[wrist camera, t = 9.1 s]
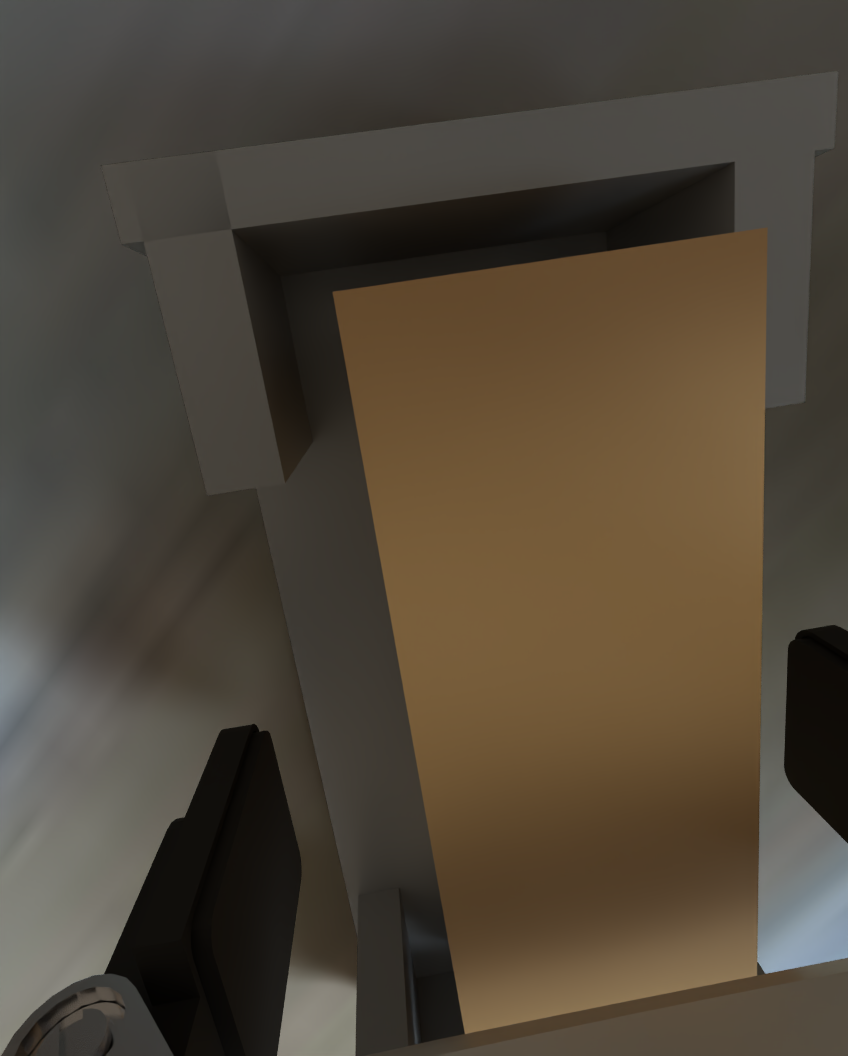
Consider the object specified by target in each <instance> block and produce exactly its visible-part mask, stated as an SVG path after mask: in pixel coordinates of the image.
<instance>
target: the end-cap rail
mask: <svg viewBox="0 0 848 1056" xmlns="http://www.w3.org/2000/svg"><path fill="white" fill-rule="evenodd" d="M837 89H838V71H832V72H824V73H816V74H808V75H801V76H793V77H785V78H777V79H769V80H762V81H754V82H746V83H738V84H730V85H723V86H715V87H707V88H699V89H691V90H684V91H676V92H668V93H660V94H652V95H645V96H637V97H629V98H621V99H614V100H606V101H598V102H590V103H582V104H575V105H567V106H559V107H551V108H543V109H536V110H528V111H520V112H512V113H504V114H497V115H489V116H481V117H473V118H465V119H458V120H450V121H442V122H434V123H426V124H419V125H411V126H403V127H395V128H387V129H380V130H372V131H364V132H356V133H348V134H341V135H333V136H325V137H317V138H309V139H302V140H294V141H286V142H278V143H270V144H263V145H255V146H247V147H239V148H231V149H224V150H216V151H208V152H200V153H192V154H185V155H177V156H169V157H161V158H153V159H146V160H138V161H130V162H122V163H115V164H107V165H101V168H102V172H103V176H104V180H105V184H106V188H107V191H108V195H109V199H110V203H111V207H112V211H113V214H114V218H115V222H116V226H117V230H118V234H119V237H120V241H121V244H122V245H124V246H126V247H128V248H130V249H133V250H135V251H137V252H139V253H141V254H143V255H145V256H147V257H148V261H149V265H150V269H151V273H152V277H153V281H154V285H155V289H156V293H157V297H158V301H159V305H160V309H161V313H162V317H163V321H164V325H165V329H166V333H167V337H168V341H169V345H170V349H171V353H172V357H173V361H174V365H175V369H176V373H177V377H178V381H179V385H180V389H181V393H182V397H183V401H184V405H185V409H186V413H187V417H188V421H189V425H190V429H191V433H192V437H193V441H194V445H195V449H196V453H197V457H198V461H199V465H200V469H201V473H202V477H203V481H204V485H205V489H206V493H207V496H208V495H215V494H221V493H228V492H234V491H240V490H247V489H253V488H256V491H257V495H258V500H259V504H260V509H261V513H262V517H263V522H264V526H265V531H266V535H267V540H268V544H269V548H270V553H271V557H272V562H273V566H274V571H275V575H276V579H277V584H278V588H279V593H280V597H281V602H282V606H283V610H284V615H285V619H286V624H287V628H288V633H289V637H290V642H291V646H292V650H293V655H294V659H295V664H296V668H297V673H298V677H299V681H300V686H301V690H302V695H303V699H304V704H305V708H306V712H307V717H308V721H309V726H310V730H311V735H312V739H313V743H314V748H315V752H316V757H317V761H318V766H319V770H320V774H321V779H322V783H323V788H324V792H325V797H326V801H327V806H328V810H329V814H330V819H331V823H332V828H333V832H334V837H335V841H336V845H337V850H338V854H339V859H340V863H341V868H342V872H343V876H344V881H345V885H346V890H347V894H348V899H349V903H350V907H351V912H352V916H353V921H354V925H355V930H356V934H357V939H358V946H357V1004H356V1056H366V1055H371V1054H375V1053H380V1052H384V1051H388V1050H393V1049H397V1048H402V1047H406V1046H411V1045H415V1044H420V1043H424V1042H429V1041H433V1040H438V1039H443V1038H448V1037H453V1036H458V1035H463V1034H465V1031H464V1026H463V1020H462V1015H461V1009H460V1003H459V998H458V992H457V987H456V981H455V975H454V970H453V964H452V959H451V953H450V947H449V942H448V936H447V931H446V925H445V919H444V914H443V908H442V903H441V897H440V891H439V886H438V880H437V874H436V869H435V863H434V858H433V852H432V846H431V841H430V835H429V830H428V824H427V818H426V813H425V807H424V802H423V796H422V790H421V785H420V779H419V774H418V768H417V762H416V757H415V751H414V746H413V740H412V734H411V729H410V723H409V718H408V712H407V706H406V701H405V695H404V690H403V684H402V678H401V673H400V667H399V662H398V656H397V650H396V645H395V639H394V633H393V628H392V622H391V617H390V611H389V605H388V600H387V594H386V589H385V583H384V577H383V572H382V566H381V561H380V555H379V549H378V544H377V538H376V533H375V527H374V521H373V516H372V510H371V505H370V499H369V493H368V488H367V482H366V477H365V471H364V465H363V460H362V454H361V449H360V443H359V437H358V432H357V426H356V420H355V415H354V409H353V404H352V398H351V392H350V387H349V381H348V376H347V370H346V364H345V359H344V353H343V348H342V342H341V336H340V331H339V325H338V320H337V314H336V308H335V303H334V297H333V292H335V291H342V290H349V289H356V288H362V287H369V286H376V285H383V284H389V283H396V282H403V281H410V280H416V279H423V278H430V277H437V276H443V275H450V274H457V273H464V272H470V271H477V270H484V269H491V268H497V267H504V266H511V265H518V264H524V263H531V262H538V261H545V260H551V259H558V258H565V257H572V256H578V255H585V254H592V253H599V252H605V251H612V250H619V249H625V248H632V247H639V246H646V245H652V244H659V243H666V242H673V241H679V240H686V239H693V238H700V237H706V236H713V235H720V234H727V233H733V232H740V231H747V230H754V229H760V228H767V227H768V233H767V303H766V373H765V409H766V408H773V407H779V406H786V405H792V404H798V403H805V390H806V364H807V339H808V313H809V288H810V262H811V237H812V211H813V186H814V160H815V157H816V156H818V155H820V154H823V153H825V152H827V151H829V150H831V149H834V148H835V131H836V110H837ZM763 974H765V973H764V971H763V970H762V968H761V966H760V965H759V963H758V962H757V976H758V975H763Z"/></svg>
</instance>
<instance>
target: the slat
mask: <svg viewBox="0 0 848 1056" xmlns="http://www.w3.org/2000/svg"><path fill="white" fill-rule="evenodd" d="M767 233H768V227H767V228H760V229H754V230H747V231H740V232H733V233H727V234H720V235H713V236H706V237H700V238H693V239H686V240H679V241H673V242H666V243H659V244H652V245H646V246H639V247H632V248H625V249H619V250H612V251H605V252H599V253H592V254H585V255H578V256H572V257H565V258H558V259H551V260H545V261H538V262H531V263H524V264H518V265H511V266H504V267H497V268H491V269H484V270H477V271H470V272H464V273H457V274H450V275H443V276H437V277H430V278H423V279H416V280H410V281H403V282H396V283H389V284H383V285H376V286H369V287H362V288H356V289H349V290H342V291H335V292H333V297H334V303H335V308H336V314H337V320H338V325H339V331H340V336H341V342H342V348H343V353H344V359H345V364H346V370H347V376H348V381H349V387H350V392H351V398H352V404H353V409H354V415H355V420H356V426H357V432H358V437H359V443H360V449H361V454H362V460H363V465H364V471H365V477H366V482H367V488H368V493H369V499H370V505H371V510H372V516H373V521H374V527H375V533H376V538H377V544H378V549H379V555H380V561H381V566H382V572H383V577H384V583H385V589H386V594H387V600H388V605H389V611H390V617H391V622H392V628H393V633H394V639H395V645H396V650H397V656H398V662H399V667H400V673H401V678H402V684H403V690H404V695H405V701H406V706H407V712H408V718H409V723H410V729H411V734H412V740H413V746H414V751H415V757H416V762H417V768H418V774H419V779H420V785H421V790H422V796H423V802H424V807H425V813H426V818H427V824H428V830H429V835H430V841H431V846H432V852H433V858H434V863H435V869H436V874H437V880H438V886H439V891H440V897H441V903H442V908H443V914H444V919H445V925H446V931H447V936H448V942H449V947H450V953H451V959H452V964H453V970H454V975H455V981H456V987H457V992H458V998H459V1003H460V1009H461V1015H462V1020H463V1026H464V1031H465V1034H467V1033H472V1032H477V1031H482V1030H487V1029H492V1028H497V1027H502V1026H507V1025H512V1024H517V1023H522V1022H527V1021H532V1020H537V1019H542V1018H547V1017H551V1016H556V1015H561V1014H566V1013H571V1012H576V1011H581V1010H586V1009H591V1008H596V1007H601V1006H606V1005H611V1004H616V1003H621V1002H626V1001H631V1000H636V999H641V998H646V997H651V996H656V995H661V994H666V993H671V992H676V991H681V990H687V989H692V988H697V987H702V986H707V985H712V984H717V983H722V982H727V981H732V980H737V979H743V978H748V977H753V976H757V934H758V864H759V794H760V724H761V654H762V584H763V513H764V443H765V373H766V303H767Z"/></svg>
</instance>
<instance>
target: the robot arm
mask: <svg viewBox="0 0 848 1056" xmlns="http://www.w3.org/2000/svg"><path fill="white" fill-rule="evenodd" d="M784 769H785V773H786V776H787V778H788V781H789V782H790V784H791V785H792V787H793V788H794V789H795V790H796V791H797V792H798V793H799V794H800V795H801V796H802V797H803V798H804V799H805V800H806V801H807V802H808V803H809V804H810V805H811V806H812V807H813V808H814V810H815V811H816V812H817V813H818V814H819V815H820V816H821V817H822V818H823V819H824V820H825V821H826V822H827V823H828V824H829V825H830V826H831V827H832V828H833V829H834V830H835V831H836V832H837V833H838V834H839V835H840V836H841V837H842V838H843V839H844V840H845V841H846V842H847V843H848V631H846V630H844V629H842V628H841V627H838V626H835V625H831V626H824V627H819V628H813V629H807V630H801V631H800V632H798V633H797V635H796V637H795V640H793V641H791V642H790V644H789V647H788V667H787V697H786V726H785V755H784ZM300 883H301V857H300V852H299V848H298V844H297V840H296V836H295V832H294V828H293V824H292V820H291V815H290V811H289V807H288V803H287V799H286V795H285V791H284V787H283V783H282V779H281V775H280V771H279V767H278V763H277V759H276V755H275V751H274V747H273V743H272V739H271V736H270V733H269V732H268V731H262V732H259V729H258V727H257V726H256V725H255V724H252V725H246V726H240V727H234V728H229V729H223V730H221V732H220V733H219V735H218V738H217V740H216V743H215V745H214V747H213V750H212V752H211V755H210V757H209V760H208V762H207V765H206V767H205V769H204V772H203V774H202V777H201V779H200V782H199V784H198V786H197V789H196V791H195V794H194V796H193V799H192V801H191V804H190V806H189V808H188V811H187V813H186V816H185V817H184V818H179V819H176V820H174V821H173V822H172V823H171V824H170V826H169V828H168V829H167V831H166V834H165V836H164V838H163V841H162V843H161V845H160V847H159V850H158V852H157V854H156V857H155V859H154V861H153V863H152V866H151V868H150V870H149V873H148V875H147V877H146V879H145V882H144V884H143V886H142V889H141V891H140V893H139V896H138V898H137V900H136V902H135V905H134V907H133V909H132V912H131V914H130V916H129V918H128V921H127V923H126V925H125V928H124V930H123V932H122V934H121V937H120V939H119V941H118V944H117V946H116V948H115V951H114V953H113V955H112V957H111V960H110V962H109V964H108V967H107V969H106V971H105V973H104V974H103V975H94V976H91V977H89V978H86V979H83V980H81V981H78V982H75V983H73V984H71V985H70V986H68V987H66V988H65V989H63V990H61V991H60V992H58V993H57V994H55V995H53V996H52V997H51V998H50V999H48V1000H47V1001H46V1002H45V1003H44V1004H43V1005H41V1006H40V1007H39V1008H38V1009H37V1010H35V1011H34V1012H33V1013H32V1014H31V1015H30V1016H29V1018H28V1019H27V1020H26V1021H25V1022H24V1023H23V1025H22V1026H21V1027H20V1028H19V1029H18V1030H17V1031H16V1033H15V1034H14V1035H13V1037H12V1039H11V1040H10V1042H9V1044H8V1045H7V1047H6V1049H5V1050H4V1052H3V1054H2V1055H1V1056H277V1051H278V1044H279V1037H280V1029H281V1022H282V1015H283V1007H284V1000H285V993H286V986H287V978H288V971H289V964H290V956H291V949H292V942H293V934H294V927H295V920H296V912H297V905H298V898H299V891H300ZM366 1056H848V958H845V959H840V960H835V961H830V962H825V963H820V964H815V965H809V966H804V967H799V968H794V969H789V970H784V971H779V972H773V973H768V974H763V975H758V976H753V977H748V978H743V979H737V980H732V981H727V982H722V983H717V984H712V985H707V986H702V987H697V988H692V989H687V990H681V991H676V992H671V993H666V994H661V995H656V996H651V997H646V998H641V999H636V1000H631V1001H626V1002H621V1003H616V1004H611V1005H606V1006H601V1007H596V1008H591V1009H586V1010H581V1011H576V1012H571V1013H566V1014H561V1015H556V1016H551V1017H547V1018H542V1019H537V1020H532V1021H527V1022H522V1023H517V1024H512V1025H507V1026H502V1027H497V1028H492V1029H487V1030H482V1031H477V1032H472V1033H467V1034H463V1035H458V1036H453V1037H448V1038H443V1039H438V1040H433V1041H429V1042H424V1043H420V1044H415V1045H411V1046H406V1047H402V1048H397V1049H393V1050H388V1051H384V1052H380V1053H375V1054H371V1055H366Z"/></svg>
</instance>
